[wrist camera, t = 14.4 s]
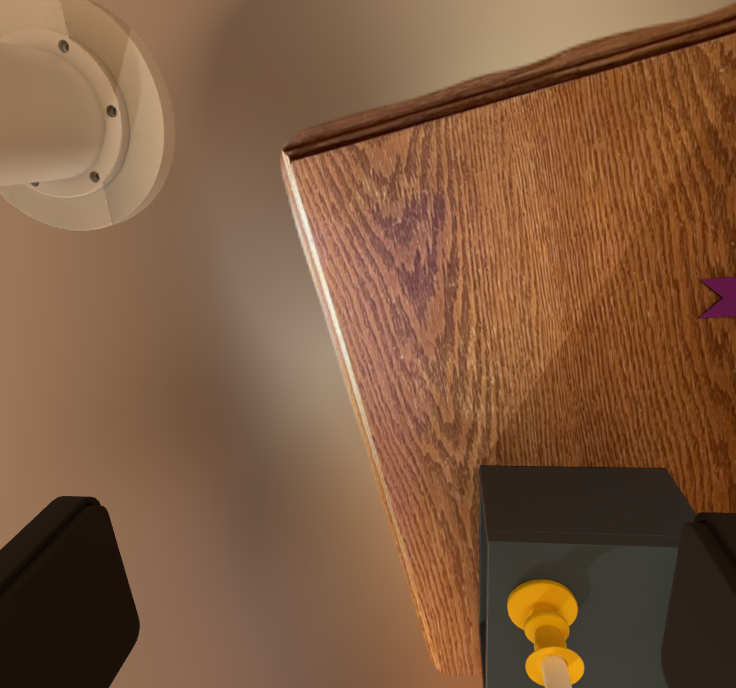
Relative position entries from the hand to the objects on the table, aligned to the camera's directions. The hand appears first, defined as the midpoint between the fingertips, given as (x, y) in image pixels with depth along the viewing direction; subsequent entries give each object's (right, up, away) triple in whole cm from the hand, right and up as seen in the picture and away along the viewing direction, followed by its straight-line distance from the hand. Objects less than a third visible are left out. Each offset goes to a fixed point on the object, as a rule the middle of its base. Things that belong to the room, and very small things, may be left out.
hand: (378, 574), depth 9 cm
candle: (+13, -16, +33) cm, 39 cm away
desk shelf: (+19, -17, +43) cm, 50 cm away
